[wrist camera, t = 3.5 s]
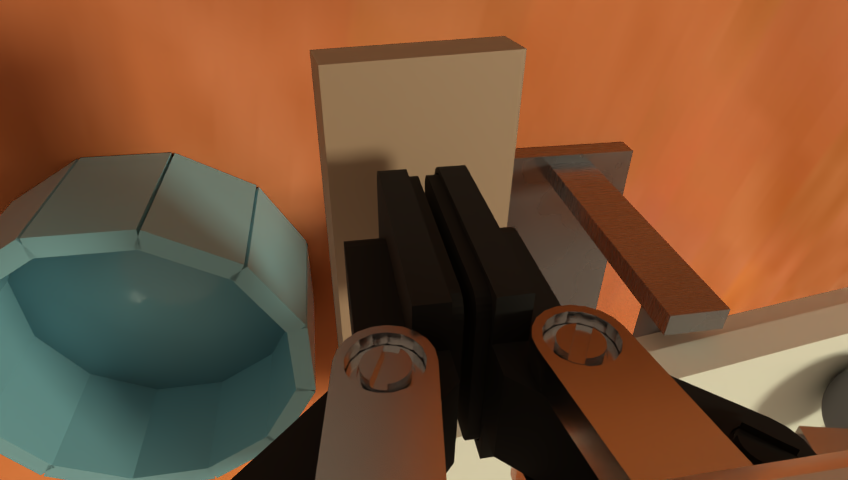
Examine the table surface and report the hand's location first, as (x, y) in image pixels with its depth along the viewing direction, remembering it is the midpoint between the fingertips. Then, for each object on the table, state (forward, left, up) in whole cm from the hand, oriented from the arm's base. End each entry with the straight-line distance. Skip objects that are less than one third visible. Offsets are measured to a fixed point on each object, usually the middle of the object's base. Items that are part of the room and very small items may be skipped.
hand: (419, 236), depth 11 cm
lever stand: (-9, +11, -14) cm, 20 cm away
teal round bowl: (+10, +11, -14) cm, 20 cm away
